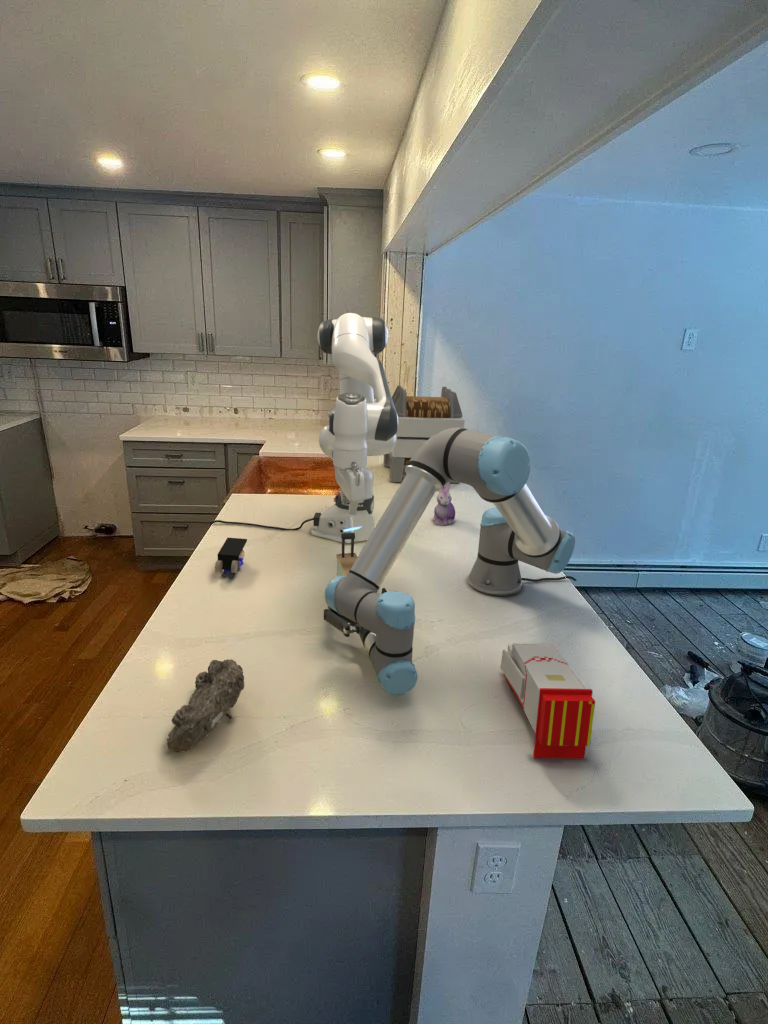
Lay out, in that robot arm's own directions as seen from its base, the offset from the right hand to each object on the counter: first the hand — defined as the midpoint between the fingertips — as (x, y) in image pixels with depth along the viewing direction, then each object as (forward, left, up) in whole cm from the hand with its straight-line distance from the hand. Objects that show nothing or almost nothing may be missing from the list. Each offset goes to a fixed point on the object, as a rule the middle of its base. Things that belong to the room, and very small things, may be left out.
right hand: (357, 595), depth 144 cm
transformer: (-60, -125, -6) cm, 139 cm away
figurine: (-48, -61, -6) cm, 77 cm away
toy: (-27, +43, -6) cm, 51 cm away
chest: (-1, -10, -6) cm, 11 cm away
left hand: (-1, -15, +18) cm, 24 cm away
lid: (-1, -10, +3) cm, 10 cm away
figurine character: (+30, -33, -6) cm, 45 cm away
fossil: (+35, +31, -6) cm, 48 cm away
